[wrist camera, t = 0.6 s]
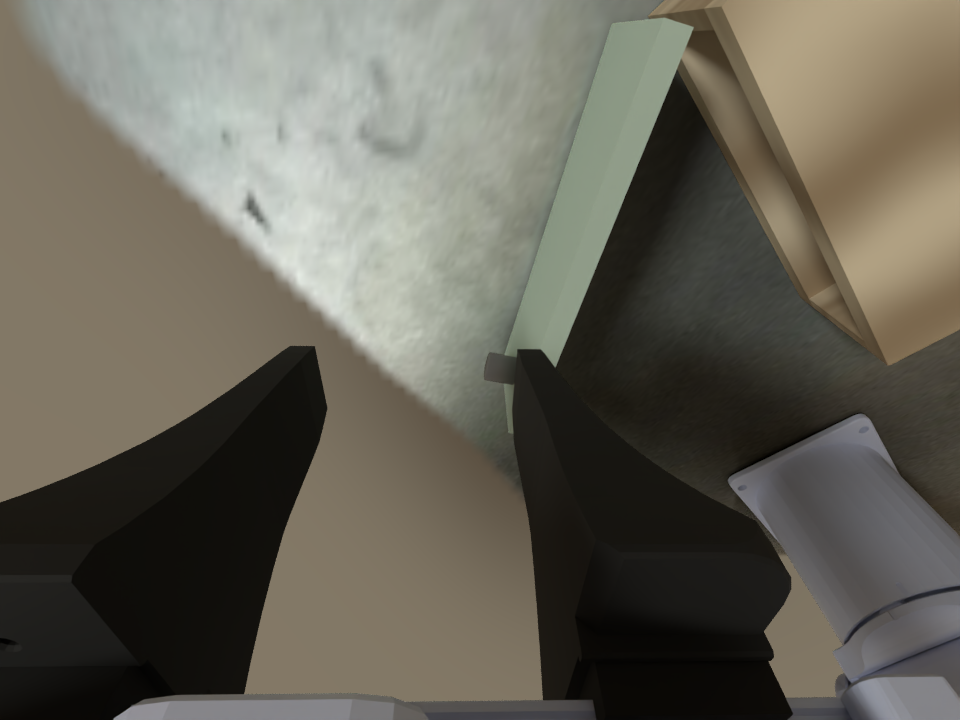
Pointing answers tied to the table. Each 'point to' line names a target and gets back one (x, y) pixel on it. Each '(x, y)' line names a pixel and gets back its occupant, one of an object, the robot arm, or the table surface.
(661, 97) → the cabinet door
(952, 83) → the cabinet
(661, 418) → the table surface
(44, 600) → the robot arm
